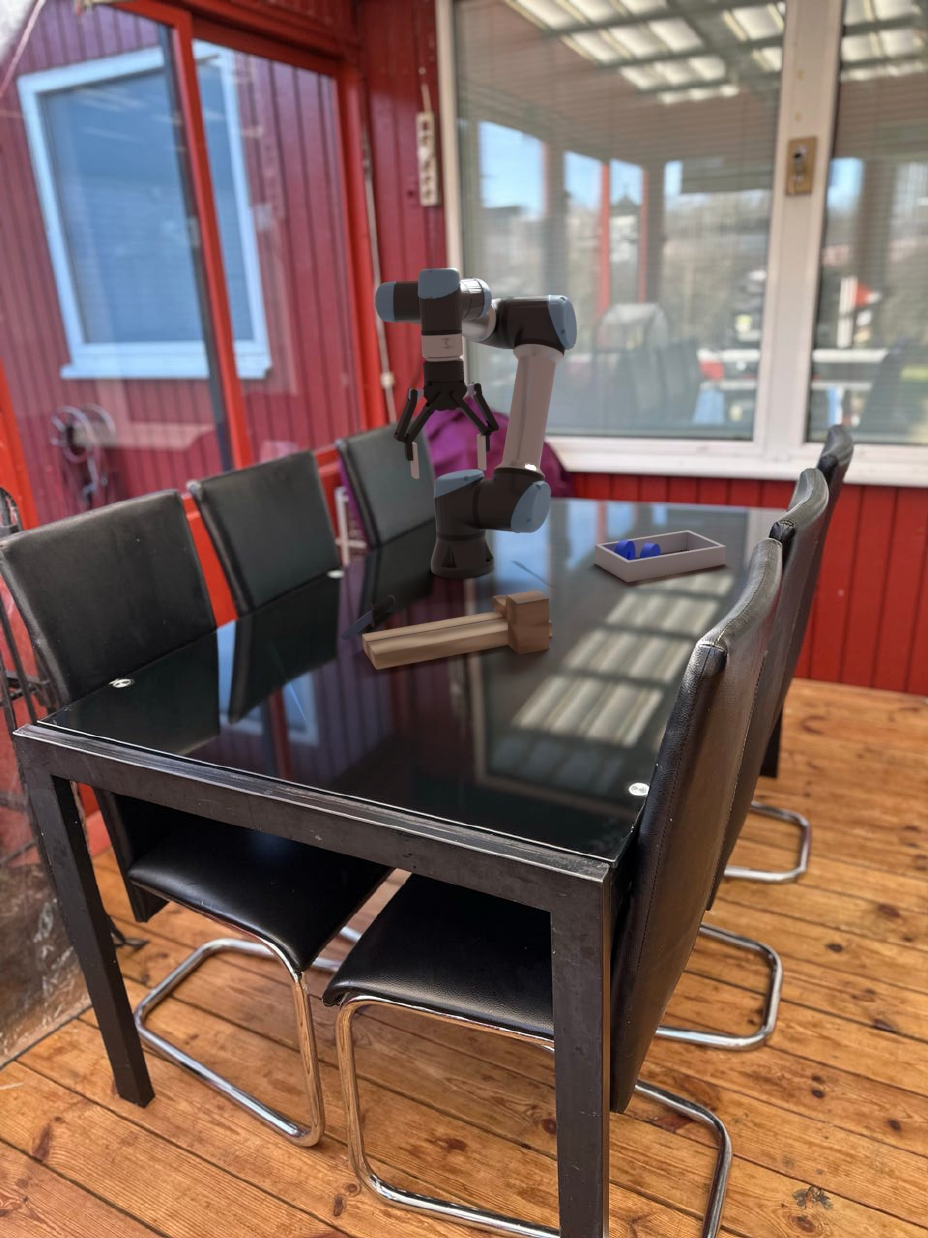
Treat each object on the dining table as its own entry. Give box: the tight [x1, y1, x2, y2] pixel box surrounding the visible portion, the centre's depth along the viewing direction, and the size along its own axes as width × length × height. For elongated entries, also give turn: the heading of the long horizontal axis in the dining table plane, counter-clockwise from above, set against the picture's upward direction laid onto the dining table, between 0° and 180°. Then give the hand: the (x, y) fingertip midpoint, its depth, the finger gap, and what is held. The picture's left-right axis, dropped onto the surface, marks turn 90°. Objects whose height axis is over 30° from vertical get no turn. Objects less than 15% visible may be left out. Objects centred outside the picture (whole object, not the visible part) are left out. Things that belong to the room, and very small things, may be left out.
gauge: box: [491, 589, 550, 656], centre depth 166 cm, size 18×6×10 cm, turn 20°
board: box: [361, 610, 553, 670], centre depth 165 cm, size 10×34×3 cm, turn 110°
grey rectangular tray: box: [594, 529, 727, 583], centre depth 202 cm, size 15×25×4 cm, turn 110°
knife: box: [339, 594, 396, 641], centre depth 172 cm, size 24×2×5 cm, turn 162°
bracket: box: [614, 539, 662, 561], centre depth 204 cm, size 18×8×9 cm, turn 144°
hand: (449, 473), depth 170 cm, fingers open, 13 cm apart
